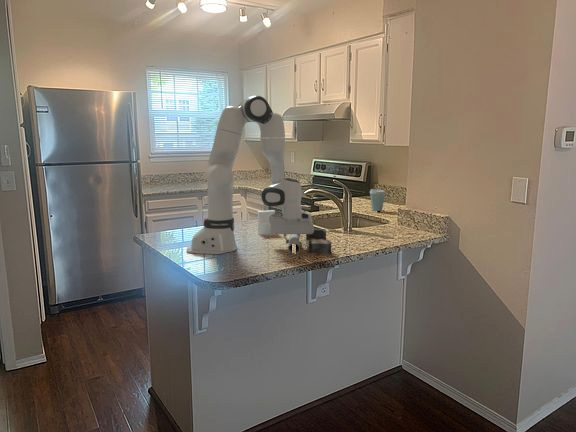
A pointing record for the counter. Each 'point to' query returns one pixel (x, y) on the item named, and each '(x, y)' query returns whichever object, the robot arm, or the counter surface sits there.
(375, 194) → the disposable coffee cup
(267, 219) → the white upright block
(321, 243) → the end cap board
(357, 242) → the counter surface
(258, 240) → the counter surface
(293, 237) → the tube
